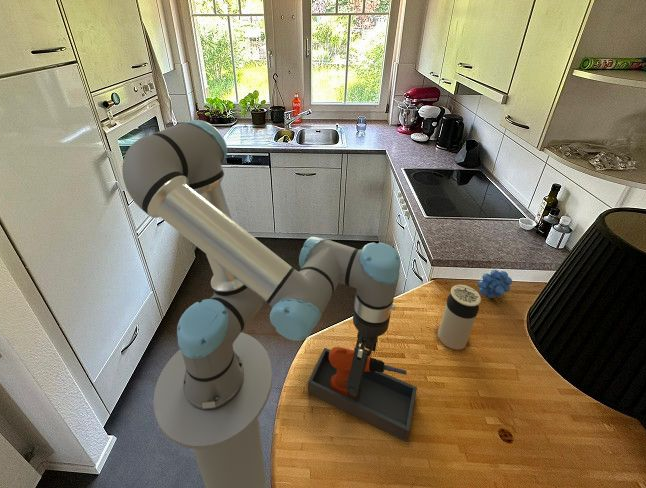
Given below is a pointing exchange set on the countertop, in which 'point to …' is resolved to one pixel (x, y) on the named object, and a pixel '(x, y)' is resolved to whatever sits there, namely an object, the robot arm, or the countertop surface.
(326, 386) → the tray
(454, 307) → the travel mug
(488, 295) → the grapes
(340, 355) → the toy drill
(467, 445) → the countertop surface
